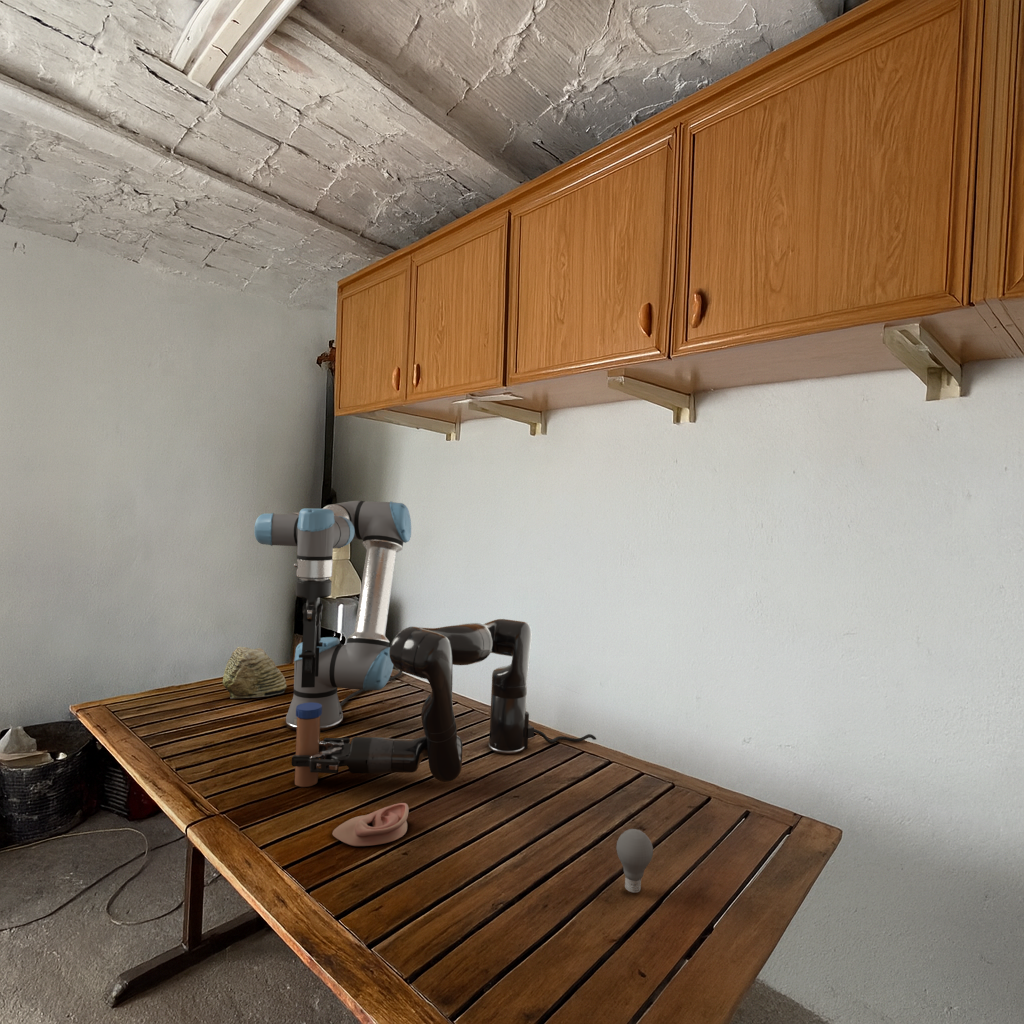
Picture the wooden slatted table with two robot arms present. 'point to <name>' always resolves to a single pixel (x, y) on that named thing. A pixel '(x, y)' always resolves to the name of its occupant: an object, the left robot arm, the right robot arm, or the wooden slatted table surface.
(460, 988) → the wooden slatted table surface
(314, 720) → the brown tall cylinder
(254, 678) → the fossil
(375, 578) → the left robot arm
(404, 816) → the anatomical model
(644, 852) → the light bulb
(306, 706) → the lid
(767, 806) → the wooden slatted table surface
